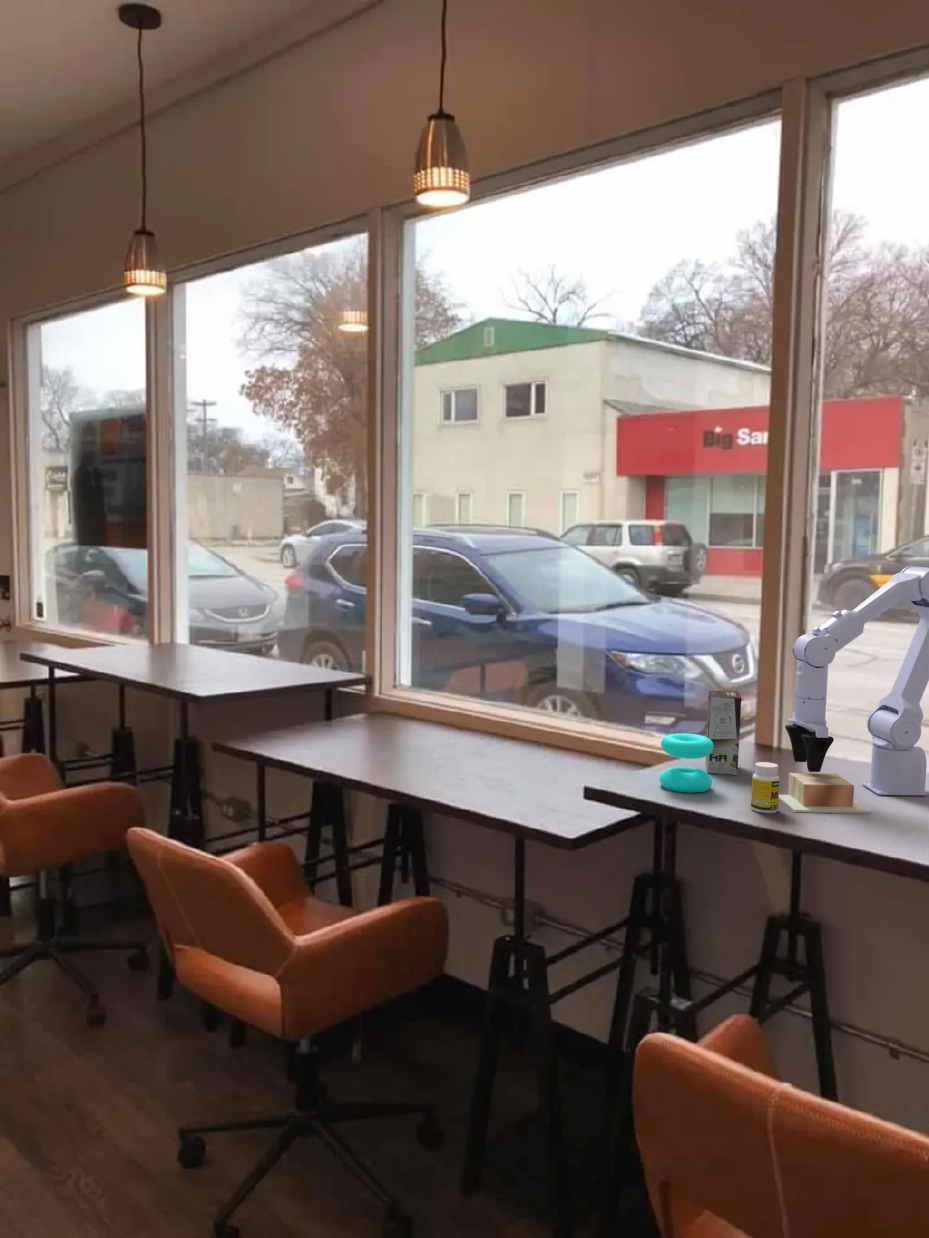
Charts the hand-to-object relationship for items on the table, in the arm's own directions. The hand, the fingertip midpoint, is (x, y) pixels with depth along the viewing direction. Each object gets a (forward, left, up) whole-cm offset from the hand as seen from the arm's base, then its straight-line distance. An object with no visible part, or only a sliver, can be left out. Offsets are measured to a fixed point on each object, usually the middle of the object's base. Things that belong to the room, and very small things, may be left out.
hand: (806, 766), depth 192 cm
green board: (0, +9, -5) cm, 10 cm away
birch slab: (0, +3, -2) cm, 4 cm away
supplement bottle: (+12, +13, -5) cm, 18 cm away
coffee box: (+12, -17, -5) cm, 21 cm away
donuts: (+23, -2, -5) cm, 24 cm away
